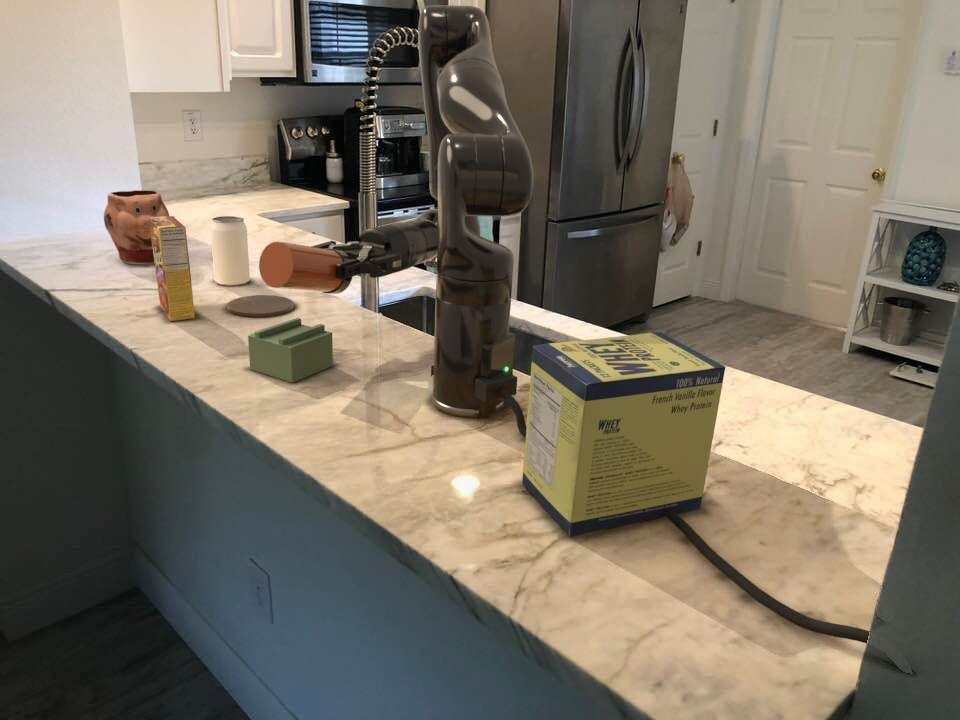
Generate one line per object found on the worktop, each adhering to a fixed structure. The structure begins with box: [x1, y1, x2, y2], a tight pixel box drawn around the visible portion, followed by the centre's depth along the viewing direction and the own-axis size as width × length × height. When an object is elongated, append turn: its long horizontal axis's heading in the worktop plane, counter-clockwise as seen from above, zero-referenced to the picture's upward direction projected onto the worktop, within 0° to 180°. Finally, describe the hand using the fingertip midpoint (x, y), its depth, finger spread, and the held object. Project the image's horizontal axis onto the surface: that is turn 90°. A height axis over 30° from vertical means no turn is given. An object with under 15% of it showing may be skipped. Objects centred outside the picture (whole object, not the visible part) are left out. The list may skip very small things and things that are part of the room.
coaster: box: [226, 294, 294, 318], centre depth 131 cm, size 11×11×1 cm
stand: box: [247, 317, 334, 383], centre depth 105 cm, size 8×8×6 cm
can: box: [210, 215, 251, 287], centre depth 143 cm, size 6×6×12 cm
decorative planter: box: [103, 189, 170, 265], centre depth 155 cm, size 20×12×14 cm, turn 43°
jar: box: [258, 241, 353, 295], centre depth 104 cm, size 12×6×6 cm, turn 149°
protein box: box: [521, 331, 726, 537], centre depth 75 cm, size 10×16×16 cm
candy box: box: [149, 215, 196, 322], centre depth 123 cm, size 9×4×15 cm, turn 31°
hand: (318, 268), depth 106 cm, fingers closed on jar, 6 cm apart
